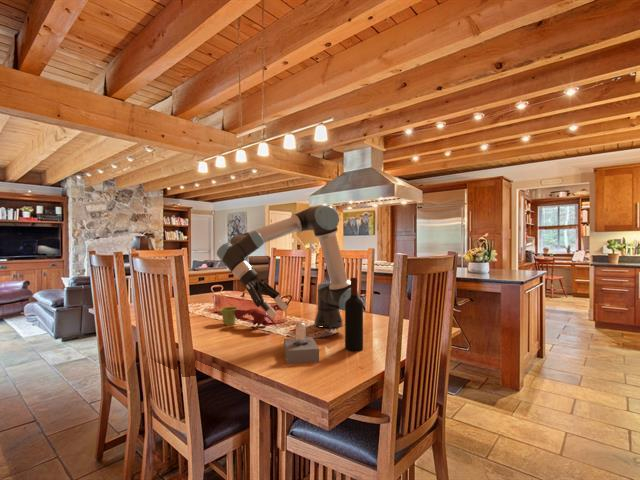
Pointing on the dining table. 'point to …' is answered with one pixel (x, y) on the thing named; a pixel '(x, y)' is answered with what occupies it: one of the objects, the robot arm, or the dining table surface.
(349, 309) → the wine bottle
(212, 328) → the dining table surface
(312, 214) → the robot arm
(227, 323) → the plant pot
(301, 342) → the steel pin
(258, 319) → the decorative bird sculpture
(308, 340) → the charcoal hole block
